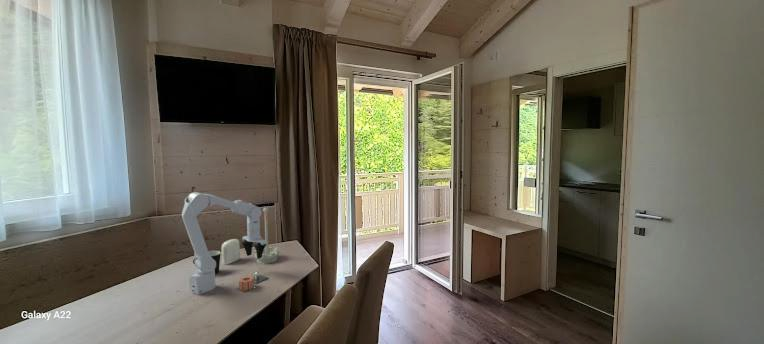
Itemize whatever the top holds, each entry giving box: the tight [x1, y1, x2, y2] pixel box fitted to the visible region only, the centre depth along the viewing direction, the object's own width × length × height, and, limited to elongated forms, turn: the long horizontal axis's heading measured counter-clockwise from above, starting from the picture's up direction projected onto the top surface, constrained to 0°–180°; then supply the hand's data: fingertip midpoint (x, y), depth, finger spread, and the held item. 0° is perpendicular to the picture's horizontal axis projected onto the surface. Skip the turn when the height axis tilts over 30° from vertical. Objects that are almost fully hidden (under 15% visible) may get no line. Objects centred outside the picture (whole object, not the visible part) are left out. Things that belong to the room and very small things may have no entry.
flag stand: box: [254, 207, 280, 264], centre depth 175 cm, size 13×13×30 cm
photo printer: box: [220, 238, 241, 266], centre depth 173 cm, size 10×4×12 cm, turn 160°
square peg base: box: [253, 271, 269, 285], centre depth 148 cm, size 7×7×4 cm
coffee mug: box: [192, 250, 222, 275], centre depth 158 cm, size 12×9×10 cm
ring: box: [238, 275, 255, 292], centre depth 139 cm, size 6×6×4 cm
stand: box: [235, 284, 259, 294], centre depth 140 cm, size 7×7×4 cm
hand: (254, 256), depth 154 cm, fingers open, 7 cm apart
